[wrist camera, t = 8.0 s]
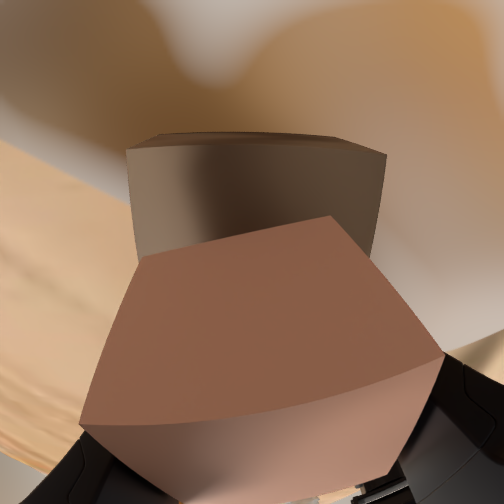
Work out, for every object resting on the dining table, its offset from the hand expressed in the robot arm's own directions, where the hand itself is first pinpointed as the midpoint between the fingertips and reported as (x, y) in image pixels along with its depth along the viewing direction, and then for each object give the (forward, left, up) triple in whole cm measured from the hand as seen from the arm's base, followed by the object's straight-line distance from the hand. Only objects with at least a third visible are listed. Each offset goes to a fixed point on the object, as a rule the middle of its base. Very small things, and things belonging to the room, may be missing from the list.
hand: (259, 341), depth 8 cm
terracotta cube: (0, 0, -1) cm, 1 cm away
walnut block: (0, -1, -8) cm, 8 cm away
